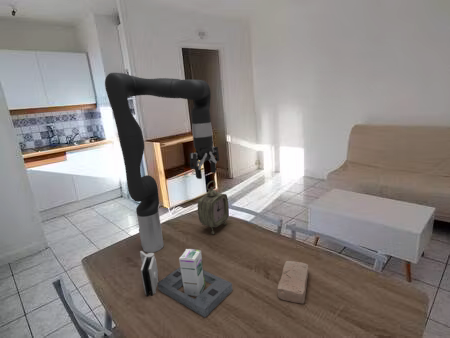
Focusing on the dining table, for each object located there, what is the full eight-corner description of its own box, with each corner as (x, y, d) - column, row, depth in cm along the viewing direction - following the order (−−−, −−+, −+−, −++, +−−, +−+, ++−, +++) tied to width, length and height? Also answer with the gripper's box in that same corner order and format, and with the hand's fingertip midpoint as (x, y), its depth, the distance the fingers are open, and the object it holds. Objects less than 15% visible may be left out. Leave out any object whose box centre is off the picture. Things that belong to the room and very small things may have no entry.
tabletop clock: (213, 237, 128) (209, 187, 121) (198, 232, 133) (193, 184, 126) (229, 224, 140) (226, 177, 133) (215, 220, 144) (211, 176, 138)
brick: (285, 269, 102) (285, 258, 100) (308, 273, 99) (308, 261, 97) (277, 300, 87) (276, 288, 86) (304, 306, 84) (304, 293, 83)
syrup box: (200, 297, 90) (195, 259, 87) (183, 295, 92) (178, 257, 88) (205, 285, 96) (201, 249, 92) (190, 283, 97) (185, 248, 93)
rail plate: (158, 290, 95) (157, 282, 94) (187, 269, 106) (186, 261, 105) (205, 317, 82) (204, 309, 81) (232, 290, 92) (231, 282, 92)
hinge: (143, 273, 105) (139, 251, 102) (157, 270, 106) (154, 247, 104) (144, 297, 92) (140, 272, 90) (161, 293, 94) (157, 268, 91)
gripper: (207, 131, 111) (211, 169, 115) (182, 137, 100) (187, 179, 104) (222, 132, 106) (225, 171, 110) (196, 138, 95) (201, 182, 100)
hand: (206, 175), depth 107 cm, fingers open, 8 cm apart
